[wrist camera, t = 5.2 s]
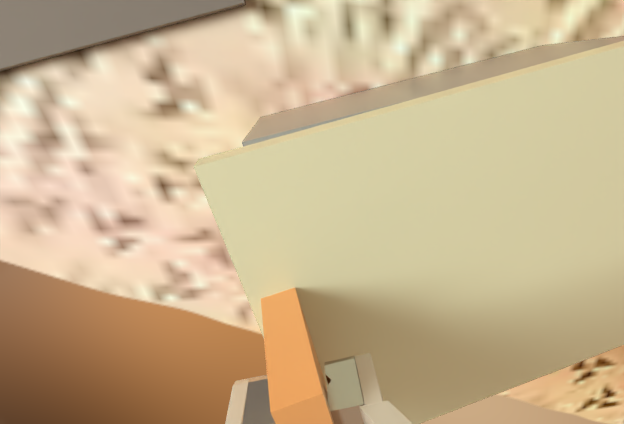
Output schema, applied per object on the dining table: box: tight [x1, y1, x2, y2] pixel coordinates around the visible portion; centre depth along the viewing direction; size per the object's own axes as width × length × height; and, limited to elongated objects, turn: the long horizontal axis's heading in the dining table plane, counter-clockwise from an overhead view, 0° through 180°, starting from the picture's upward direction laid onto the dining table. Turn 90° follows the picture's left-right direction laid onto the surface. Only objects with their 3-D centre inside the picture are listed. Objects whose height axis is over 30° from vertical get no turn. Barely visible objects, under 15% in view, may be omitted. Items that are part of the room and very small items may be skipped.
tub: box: [242, 36, 624, 147], centre depth 19 cm, size 18×14×8 cm
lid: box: [194, 41, 624, 424], centre depth 11 cm, size 19×15×6 cm
